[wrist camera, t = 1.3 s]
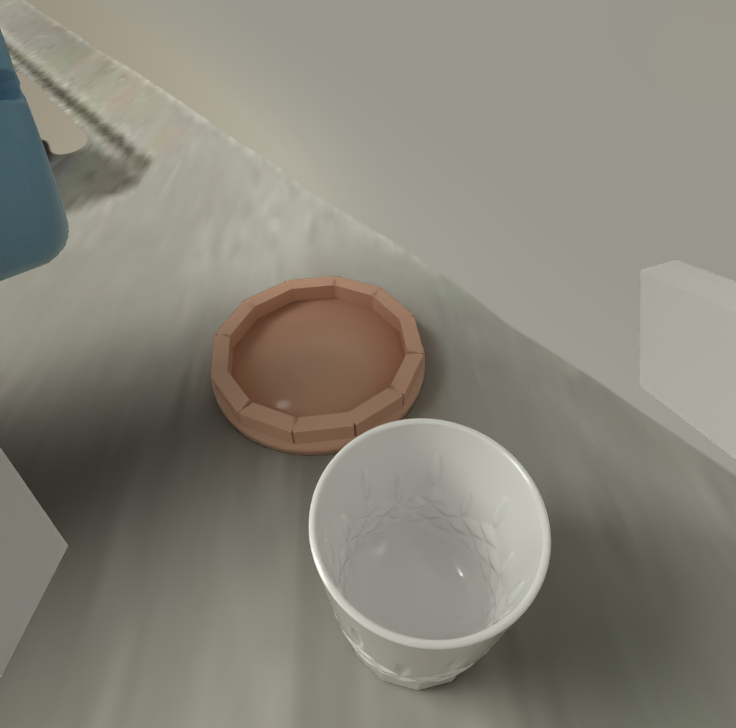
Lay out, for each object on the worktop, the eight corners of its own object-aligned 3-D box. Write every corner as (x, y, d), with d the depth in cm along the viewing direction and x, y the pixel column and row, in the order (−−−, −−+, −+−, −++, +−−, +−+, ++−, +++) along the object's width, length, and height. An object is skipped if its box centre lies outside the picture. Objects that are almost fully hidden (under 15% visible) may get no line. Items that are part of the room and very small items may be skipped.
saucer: (169, 410, 32) (158, 390, 31) (280, 276, 41) (276, 256, 39) (376, 488, 29) (376, 470, 27) (451, 323, 37) (454, 303, 36)
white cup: (334, 528, 27) (317, 417, 20) (485, 527, 27) (525, 416, 20) (325, 705, 22) (297, 648, 15) (511, 706, 22) (579, 649, 14)
